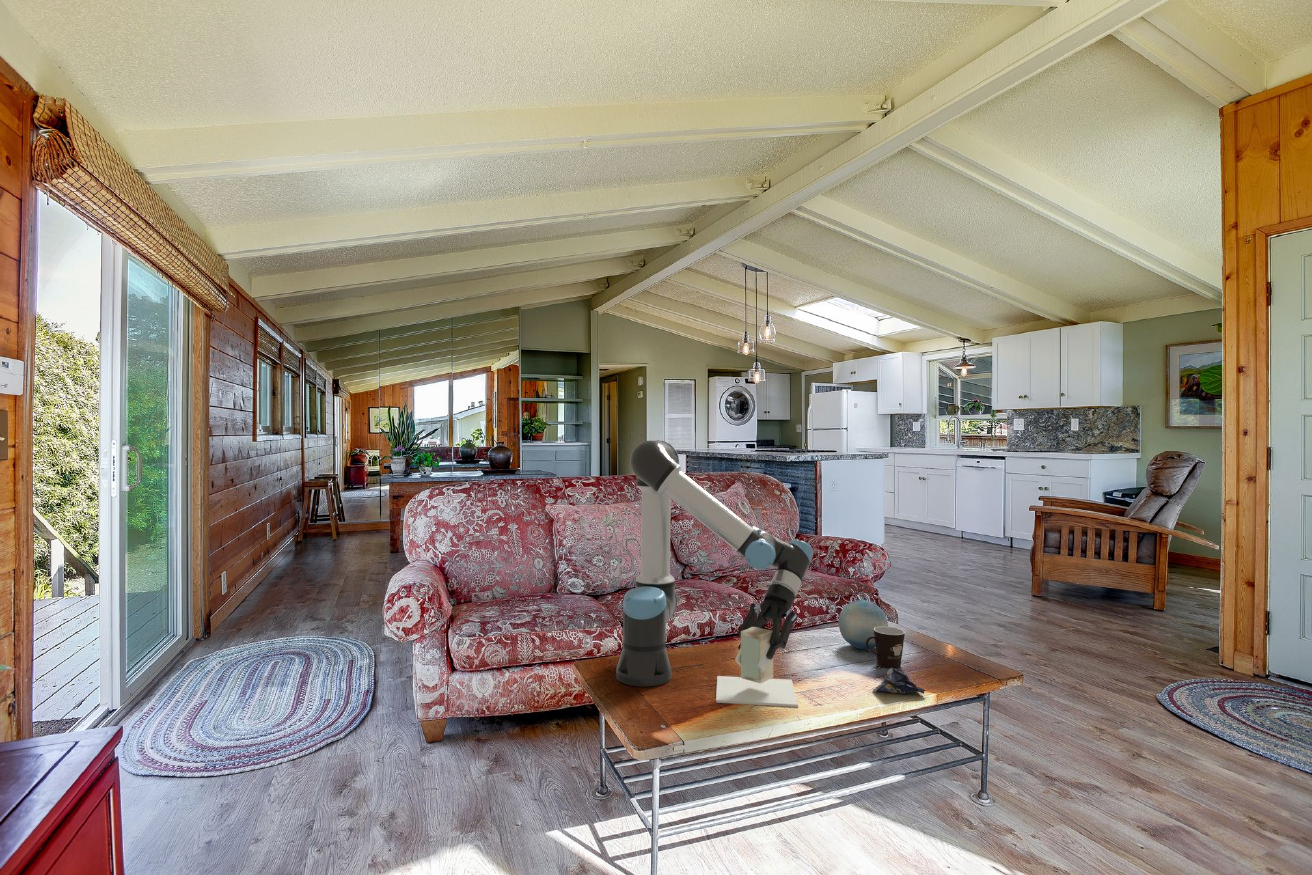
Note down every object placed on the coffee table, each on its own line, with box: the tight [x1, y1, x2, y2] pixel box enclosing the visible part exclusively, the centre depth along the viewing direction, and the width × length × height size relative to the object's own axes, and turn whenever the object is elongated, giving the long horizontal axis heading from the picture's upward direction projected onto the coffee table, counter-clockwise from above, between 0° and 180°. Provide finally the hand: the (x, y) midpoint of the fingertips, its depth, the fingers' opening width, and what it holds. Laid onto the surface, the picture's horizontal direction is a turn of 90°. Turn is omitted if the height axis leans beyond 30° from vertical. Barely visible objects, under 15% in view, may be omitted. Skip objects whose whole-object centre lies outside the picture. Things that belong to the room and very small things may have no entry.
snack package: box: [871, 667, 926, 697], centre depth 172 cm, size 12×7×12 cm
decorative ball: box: [838, 599, 889, 650], centre depth 208 cm, size 15×15×15 cm
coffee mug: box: [866, 626, 906, 669], centre depth 192 cm, size 12×9×10 cm
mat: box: [715, 675, 799, 708], centre depth 170 cm, size 20×17×1 cm
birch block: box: [740, 627, 774, 684], centre depth 170 cm, size 6×6×12 cm
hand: (749, 665), depth 168 cm, fingers closed on birch block, 6 cm apart
